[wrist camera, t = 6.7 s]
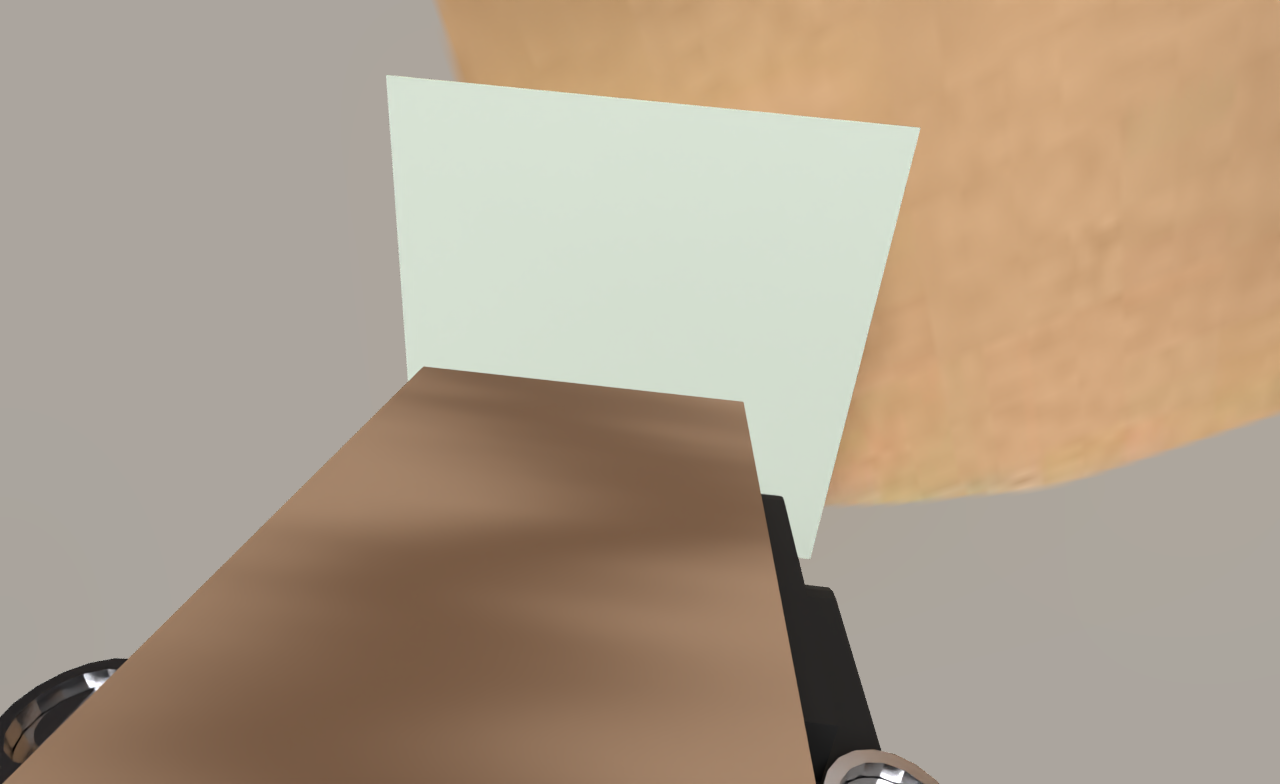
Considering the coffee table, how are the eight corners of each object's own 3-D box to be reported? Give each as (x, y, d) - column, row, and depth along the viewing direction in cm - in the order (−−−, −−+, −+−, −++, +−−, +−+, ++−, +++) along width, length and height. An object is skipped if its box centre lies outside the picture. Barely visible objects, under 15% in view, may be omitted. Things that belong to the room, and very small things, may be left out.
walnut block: (743, 401, 10) (848, 956, 3) (701, 641, 12) (716, 1267, 5) (423, 366, 10) (-53, 841, 4) (437, 610, 12) (153, 1184, 6)
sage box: (860, 120, 21) (920, 128, 15) (785, 463, 26) (810, 559, 21) (465, 82, 21) (386, 75, 16) (473, 427, 26) (417, 511, 21)
